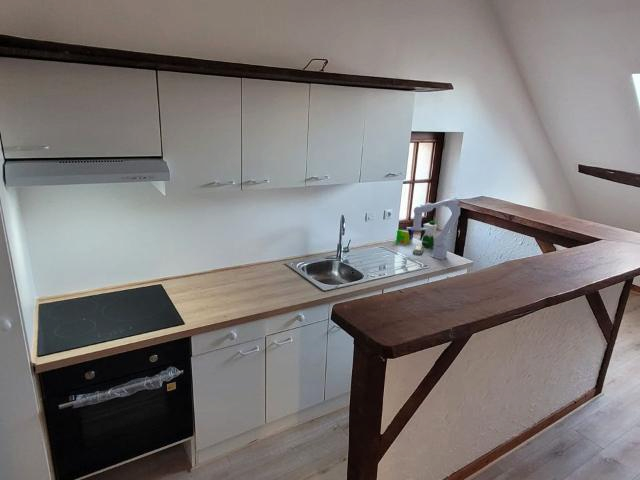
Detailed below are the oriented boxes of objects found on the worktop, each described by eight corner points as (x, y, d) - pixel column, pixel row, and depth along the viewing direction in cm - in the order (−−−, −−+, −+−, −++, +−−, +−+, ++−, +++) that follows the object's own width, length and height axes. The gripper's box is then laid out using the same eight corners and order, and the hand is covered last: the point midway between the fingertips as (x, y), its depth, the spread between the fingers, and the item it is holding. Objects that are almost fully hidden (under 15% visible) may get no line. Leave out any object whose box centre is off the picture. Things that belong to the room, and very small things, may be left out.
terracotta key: (421, 247, 312) (422, 246, 311) (416, 247, 313) (416, 245, 312) (422, 246, 315) (422, 244, 315) (417, 245, 317) (417, 243, 316)
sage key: (420, 251, 302) (420, 249, 302) (414, 250, 303) (415, 249, 303) (420, 250, 306) (421, 248, 305) (415, 249, 307) (415, 247, 307)
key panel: (421, 255, 301) (421, 252, 301) (412, 253, 303) (413, 251, 302) (423, 248, 317) (423, 246, 316) (415, 247, 318) (415, 244, 318)
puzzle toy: (412, 241, 333) (413, 230, 330) (407, 244, 325) (409, 232, 322) (400, 239, 338) (401, 227, 335) (396, 242, 330) (397, 230, 327)
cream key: (421, 249, 307) (421, 247, 307) (415, 249, 308) (415, 247, 308) (421, 248, 311) (421, 246, 310) (416, 247, 312) (416, 245, 311)
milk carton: (435, 246, 323) (438, 222, 317) (429, 249, 317) (432, 223, 311) (425, 244, 329) (429, 219, 323) (419, 246, 323) (422, 221, 317)
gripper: (426, 221, 305) (424, 238, 309) (406, 220, 306) (405, 237, 310) (428, 223, 298) (426, 241, 302) (407, 222, 299) (406, 240, 303)
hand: (415, 239), depth 305 cm, fingers open, 7 cm apart
